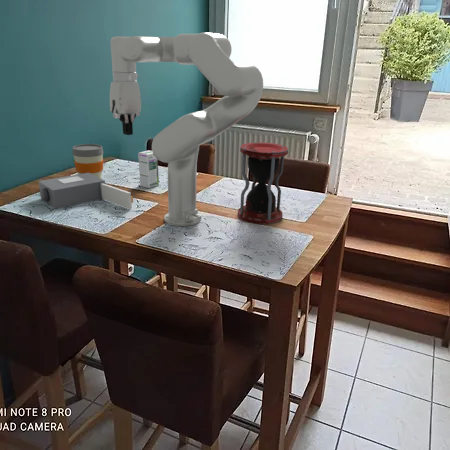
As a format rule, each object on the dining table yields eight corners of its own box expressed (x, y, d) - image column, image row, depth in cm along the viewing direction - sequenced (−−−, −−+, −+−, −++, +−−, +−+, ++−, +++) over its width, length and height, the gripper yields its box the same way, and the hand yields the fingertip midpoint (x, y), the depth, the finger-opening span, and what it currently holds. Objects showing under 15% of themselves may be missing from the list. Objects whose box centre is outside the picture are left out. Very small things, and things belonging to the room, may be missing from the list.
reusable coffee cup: (109, 178, 192) (107, 144, 186) (99, 186, 180) (96, 151, 174) (82, 176, 193) (79, 143, 187) (70, 184, 181) (66, 149, 175)
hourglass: (230, 210, 158) (233, 143, 149) (270, 206, 164) (275, 141, 154) (248, 227, 144) (252, 153, 135) (290, 221, 150) (297, 151, 140)
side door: (105, 197, 166) (104, 182, 164) (134, 207, 157) (133, 191, 154) (100, 198, 165) (99, 183, 163) (129, 209, 155) (128, 193, 153)
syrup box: (149, 188, 180) (147, 154, 174) (139, 185, 183) (137, 151, 177) (159, 185, 184) (158, 152, 178) (149, 182, 187) (148, 149, 182)
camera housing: (106, 198, 167) (105, 180, 164) (52, 209, 154) (49, 190, 151) (90, 189, 177) (88, 172, 174) (37, 199, 163) (35, 181, 161)
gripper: (134, 76, 147) (137, 130, 155) (98, 77, 137) (103, 135, 144) (149, 77, 143) (151, 133, 150) (113, 79, 132) (117, 139, 139)
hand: (128, 134), depth 147 cm, fingers closed
